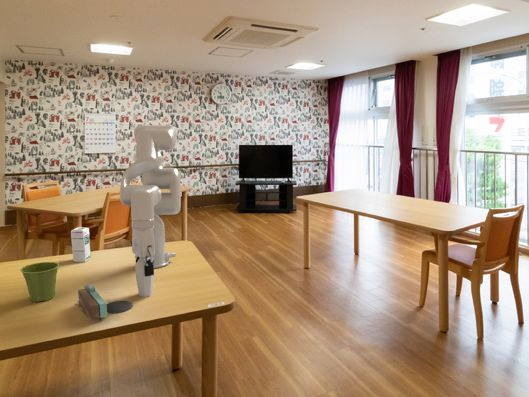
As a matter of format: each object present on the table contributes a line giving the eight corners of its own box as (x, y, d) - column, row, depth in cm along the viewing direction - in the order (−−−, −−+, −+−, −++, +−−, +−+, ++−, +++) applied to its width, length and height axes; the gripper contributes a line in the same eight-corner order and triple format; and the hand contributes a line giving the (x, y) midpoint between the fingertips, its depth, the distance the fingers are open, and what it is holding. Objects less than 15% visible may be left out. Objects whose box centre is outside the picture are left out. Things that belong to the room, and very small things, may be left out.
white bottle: (155, 290, 150) (153, 232, 147) (153, 297, 144) (151, 236, 140) (137, 291, 149) (135, 232, 146) (135, 298, 143) (132, 237, 139)
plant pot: (66, 290, 149) (64, 261, 147) (53, 304, 137) (51, 272, 135) (32, 291, 148) (29, 261, 146) (16, 305, 136) (13, 273, 134)
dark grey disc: (126, 299, 142) (126, 298, 142) (136, 308, 135) (136, 307, 135) (100, 305, 136) (99, 304, 136) (108, 315, 129) (108, 314, 129)
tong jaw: (94, 301, 137) (93, 285, 136) (107, 315, 127) (106, 299, 126) (88, 302, 136) (87, 287, 135) (100, 317, 125) (99, 300, 125)
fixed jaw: (92, 299, 141) (91, 283, 140) (109, 319, 127) (108, 300, 126) (77, 303, 138) (76, 286, 137) (92, 323, 124) (91, 304, 123)
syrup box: (85, 262, 181) (83, 230, 179) (72, 261, 181) (70, 230, 179) (91, 258, 187) (89, 227, 184) (78, 257, 187) (76, 227, 184)
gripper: (123, 220, 147) (125, 267, 150) (142, 230, 133) (144, 281, 136) (144, 218, 151) (145, 264, 154) (163, 227, 138) (165, 277, 141)
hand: (144, 272), depth 145 cm, fingers open, 7 cm apart
